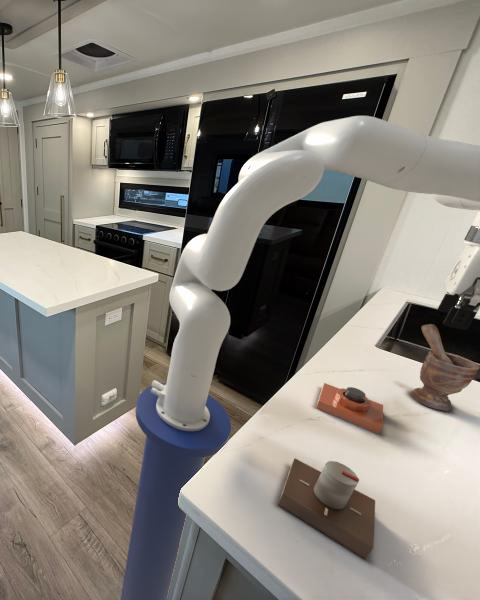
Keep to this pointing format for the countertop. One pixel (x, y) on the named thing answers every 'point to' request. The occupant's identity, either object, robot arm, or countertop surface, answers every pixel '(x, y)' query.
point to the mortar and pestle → (442, 373)
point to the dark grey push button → (354, 394)
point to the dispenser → (351, 408)
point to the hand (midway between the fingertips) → (450, 319)
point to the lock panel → (330, 510)
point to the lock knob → (335, 485)
